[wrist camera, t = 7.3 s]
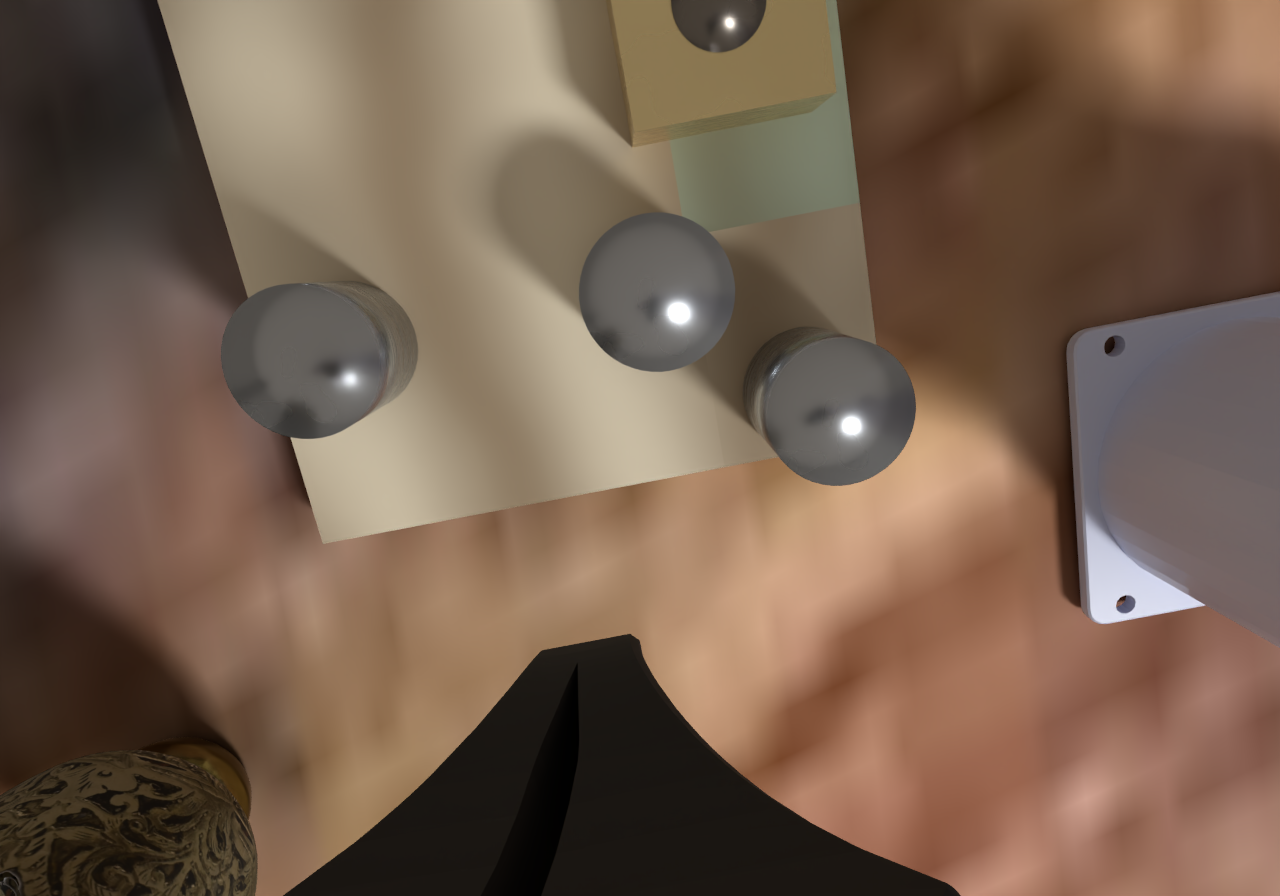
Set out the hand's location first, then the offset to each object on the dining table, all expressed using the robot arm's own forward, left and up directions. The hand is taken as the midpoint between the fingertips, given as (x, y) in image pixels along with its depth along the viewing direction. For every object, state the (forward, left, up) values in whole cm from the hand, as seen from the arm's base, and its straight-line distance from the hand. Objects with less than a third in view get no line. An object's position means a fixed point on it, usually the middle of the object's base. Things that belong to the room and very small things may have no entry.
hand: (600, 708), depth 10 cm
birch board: (0, -10, -10) cm, 14 cm away
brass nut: (-4, -10, -9) cm, 14 cm away
